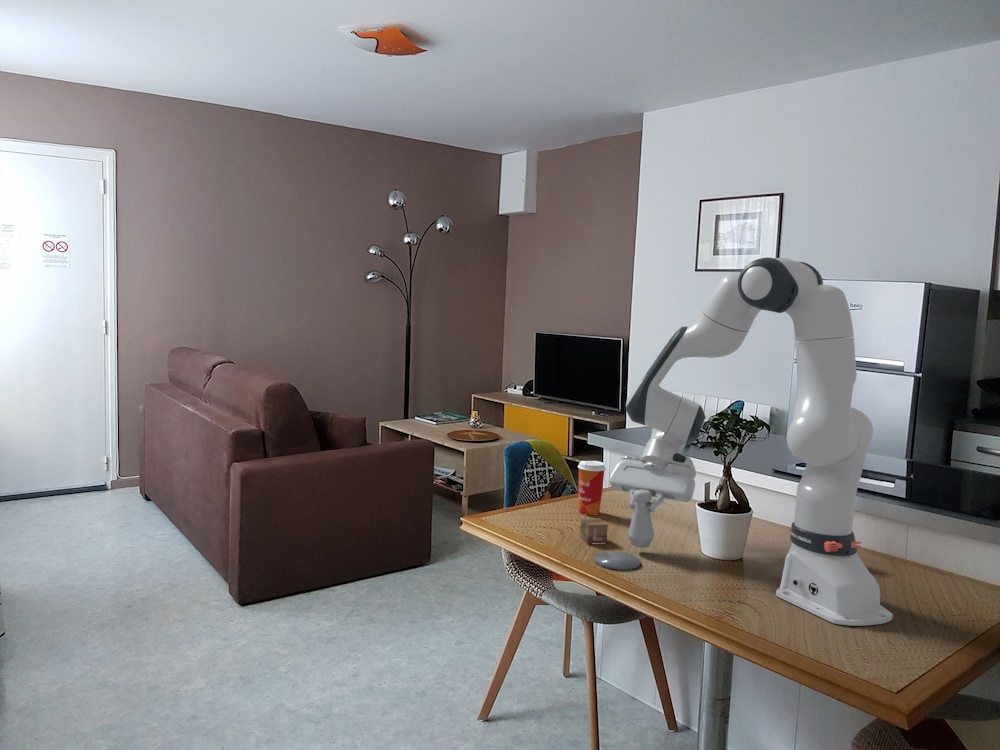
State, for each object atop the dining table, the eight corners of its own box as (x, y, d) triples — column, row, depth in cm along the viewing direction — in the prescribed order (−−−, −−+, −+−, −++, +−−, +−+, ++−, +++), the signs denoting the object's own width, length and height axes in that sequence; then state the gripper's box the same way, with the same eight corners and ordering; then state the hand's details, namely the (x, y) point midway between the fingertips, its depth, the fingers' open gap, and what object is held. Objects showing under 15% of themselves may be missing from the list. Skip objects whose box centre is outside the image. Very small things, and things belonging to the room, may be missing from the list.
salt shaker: (652, 542, 182) (655, 488, 180) (654, 549, 176) (656, 494, 175) (628, 540, 183) (630, 486, 181) (628, 547, 177) (630, 492, 176)
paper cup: (571, 508, 214) (574, 459, 212) (598, 508, 215) (601, 459, 214) (579, 517, 206) (582, 466, 205) (606, 516, 208) (610, 466, 206)
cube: (606, 544, 184) (608, 524, 184) (587, 545, 183) (588, 525, 183) (598, 537, 189) (599, 518, 189) (579, 538, 188) (580, 518, 188)
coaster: (647, 569, 169) (647, 565, 168) (605, 571, 166) (605, 568, 166) (627, 553, 178) (627, 550, 178) (587, 556, 175) (588, 552, 175)
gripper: (616, 448, 189) (597, 494, 182) (697, 459, 177) (679, 508, 170) (623, 463, 193) (604, 508, 186) (702, 474, 182) (685, 524, 174)
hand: (641, 509), depth 178 cm, fingers closed on salt shaker, 3 cm apart
